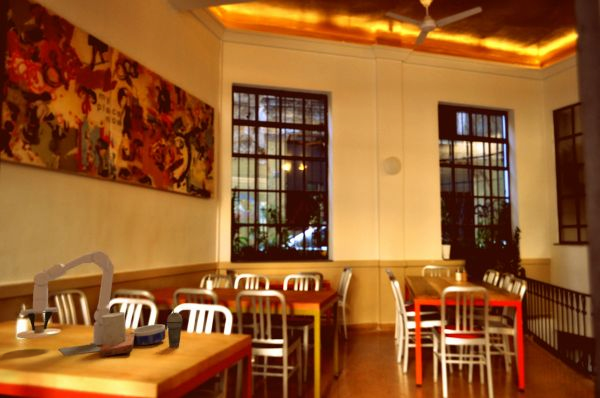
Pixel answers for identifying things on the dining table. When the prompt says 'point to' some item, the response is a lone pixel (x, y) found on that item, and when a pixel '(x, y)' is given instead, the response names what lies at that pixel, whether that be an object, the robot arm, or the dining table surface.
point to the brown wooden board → (119, 346)
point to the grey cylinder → (114, 328)
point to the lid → (38, 332)
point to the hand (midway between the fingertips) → (39, 329)
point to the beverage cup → (174, 329)
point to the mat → (80, 349)
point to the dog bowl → (149, 334)
